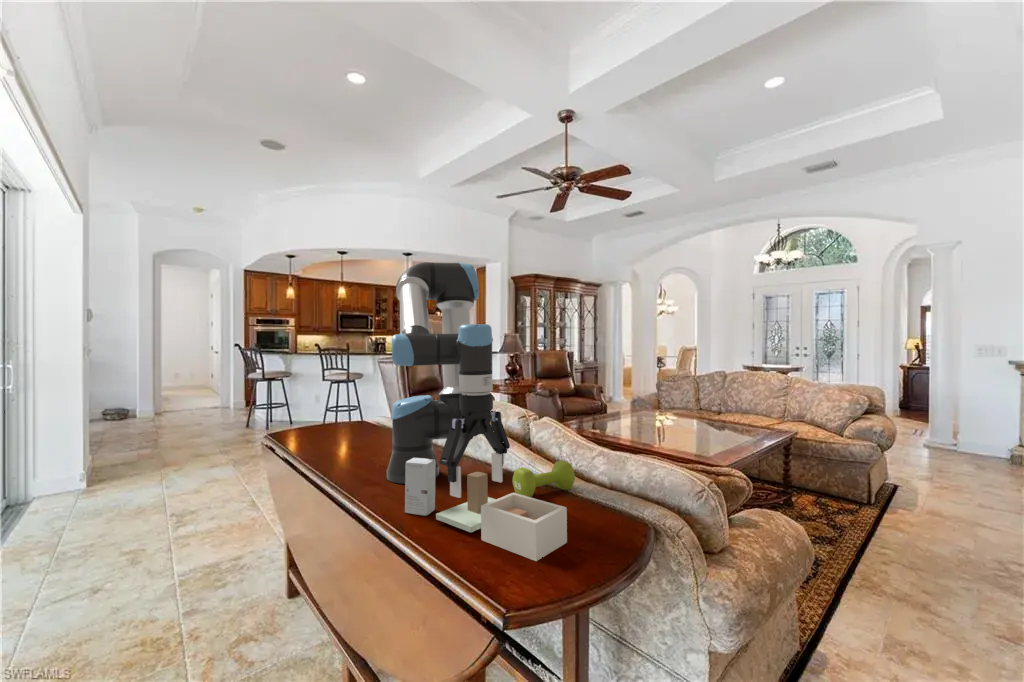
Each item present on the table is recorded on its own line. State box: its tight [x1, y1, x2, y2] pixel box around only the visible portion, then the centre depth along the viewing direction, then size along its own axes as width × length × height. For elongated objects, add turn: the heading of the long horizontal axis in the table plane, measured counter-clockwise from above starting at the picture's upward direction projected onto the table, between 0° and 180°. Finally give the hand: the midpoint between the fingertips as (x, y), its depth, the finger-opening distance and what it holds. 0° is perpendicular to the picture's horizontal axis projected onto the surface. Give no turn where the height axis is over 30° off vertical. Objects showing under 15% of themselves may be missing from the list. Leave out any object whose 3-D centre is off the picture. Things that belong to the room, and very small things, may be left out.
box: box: [480, 492, 568, 562], centre depth 93 cm, size 14×10×7 cm
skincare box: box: [404, 458, 437, 517], centre depth 110 cm, size 6×4×12 cm
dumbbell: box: [512, 459, 576, 498], centre depth 122 cm, size 16×8×7 cm, turn 120°
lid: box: [435, 471, 496, 533], centre depth 104 cm, size 15×11×10 cm
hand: (477, 488), depth 104 cm, fingers open, 12 cm apart
